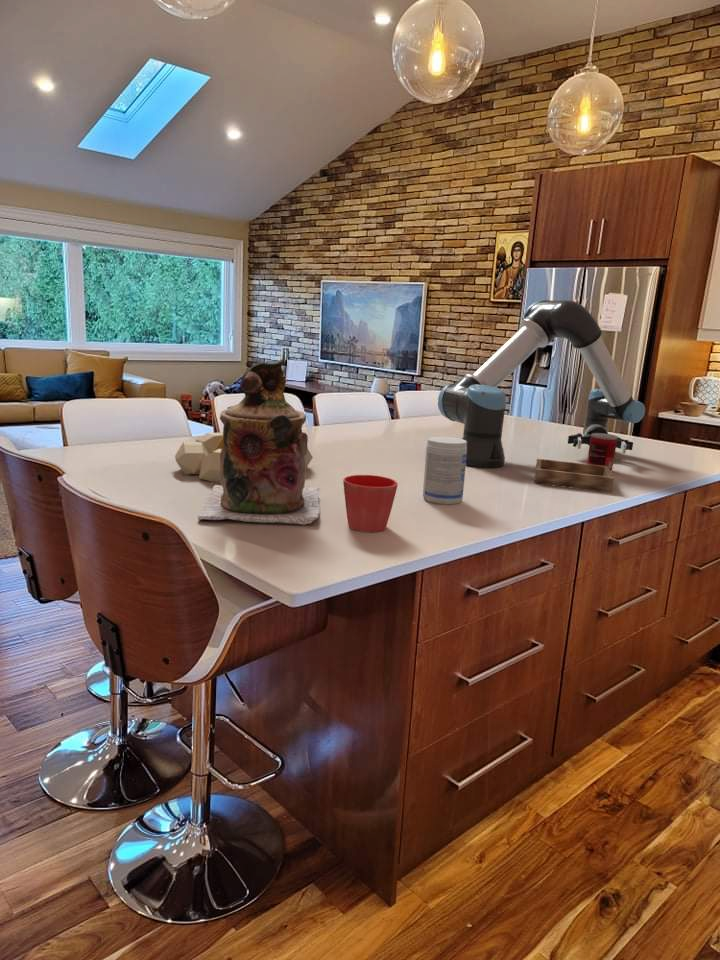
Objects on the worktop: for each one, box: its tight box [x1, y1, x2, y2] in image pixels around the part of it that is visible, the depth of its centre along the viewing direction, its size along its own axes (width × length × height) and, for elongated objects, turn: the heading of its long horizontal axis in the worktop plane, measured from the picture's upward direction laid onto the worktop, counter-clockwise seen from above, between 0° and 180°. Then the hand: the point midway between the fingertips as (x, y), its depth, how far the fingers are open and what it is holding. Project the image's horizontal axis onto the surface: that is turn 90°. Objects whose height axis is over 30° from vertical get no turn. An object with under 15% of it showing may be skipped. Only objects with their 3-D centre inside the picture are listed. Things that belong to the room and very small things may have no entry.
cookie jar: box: [197, 358, 321, 526], centre depth 136 cm, size 25×25×32 cm
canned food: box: [586, 433, 618, 472], centre depth 199 cm, size 8×8×11 cm
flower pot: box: [342, 474, 399, 533], centre depth 130 cm, size 11×11×10 cm
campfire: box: [174, 405, 313, 483], centre depth 171 cm, size 35×34×17 cm
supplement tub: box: [422, 436, 467, 505], centre depth 153 cm, size 10×10×15 cm
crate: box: [534, 458, 614, 494], centre depth 182 cm, size 20×16×4 cm
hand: (602, 446), depth 205 cm, fingers open, 13 cm apart
